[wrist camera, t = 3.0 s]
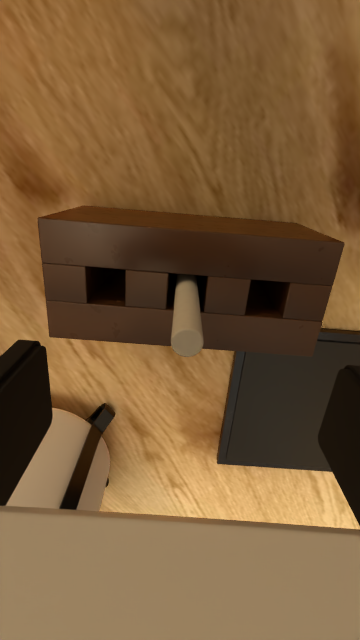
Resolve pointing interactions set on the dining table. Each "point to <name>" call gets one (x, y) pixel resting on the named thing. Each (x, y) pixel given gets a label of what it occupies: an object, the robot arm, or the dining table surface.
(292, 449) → the tablet
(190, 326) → the rod
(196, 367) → the dining table surface
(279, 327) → the pen block
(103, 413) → the coffee press
